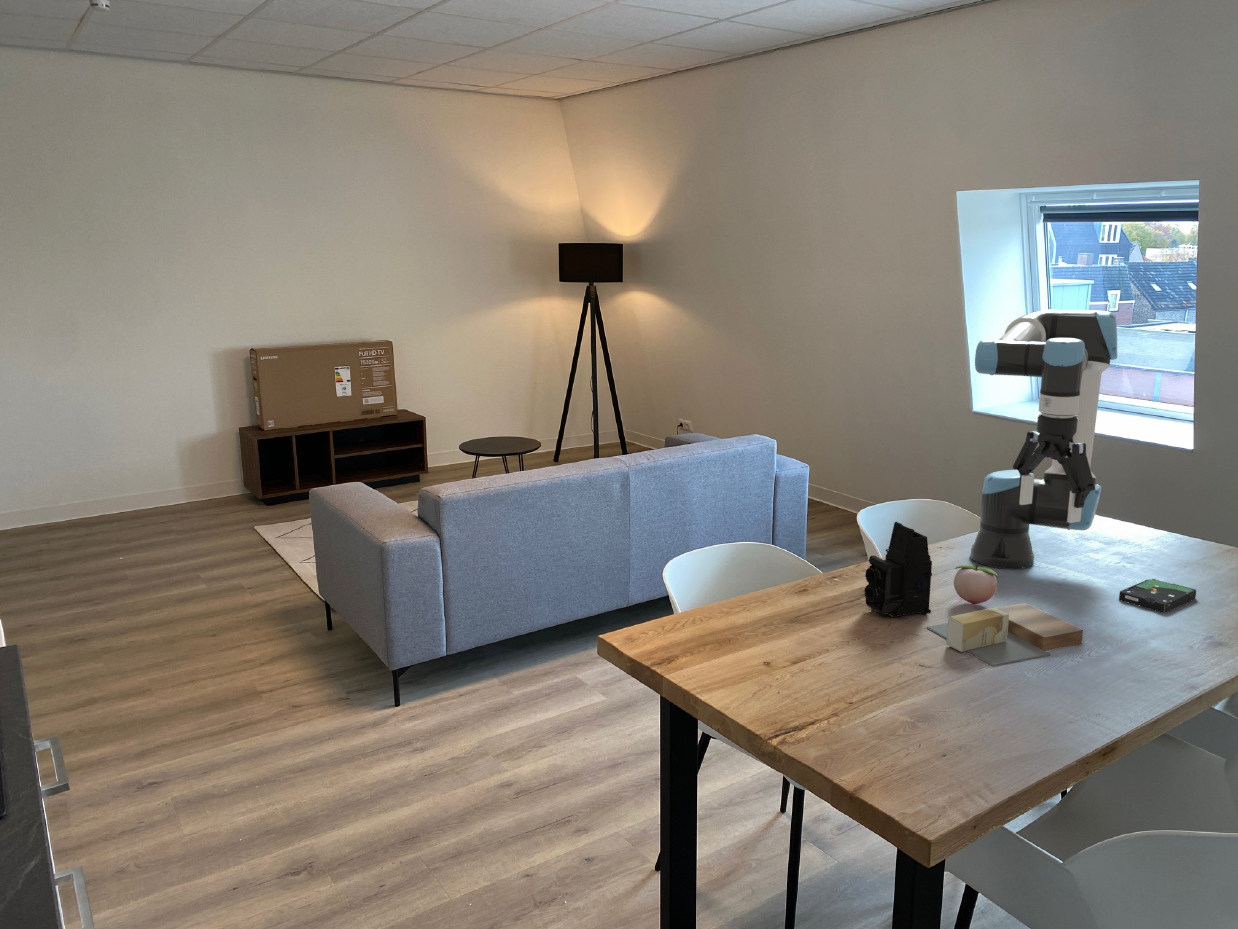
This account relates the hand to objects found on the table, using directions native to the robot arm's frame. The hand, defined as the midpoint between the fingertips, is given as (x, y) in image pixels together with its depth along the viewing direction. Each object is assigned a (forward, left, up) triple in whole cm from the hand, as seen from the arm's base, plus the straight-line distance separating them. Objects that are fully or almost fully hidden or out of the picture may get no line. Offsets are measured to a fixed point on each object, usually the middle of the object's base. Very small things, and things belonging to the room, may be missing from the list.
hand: (1048, 512), depth 197 cm
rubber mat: (+6, -19, -24) cm, 31 cm away
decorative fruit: (-11, -8, -24) cm, 28 cm away
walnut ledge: (+6, -7, -24) cm, 25 cm away
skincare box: (+6, -16, -20) cm, 26 cm away
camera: (-14, -27, -24) cm, 39 cm away
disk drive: (+1, +33, -25) cm, 42 cm away
